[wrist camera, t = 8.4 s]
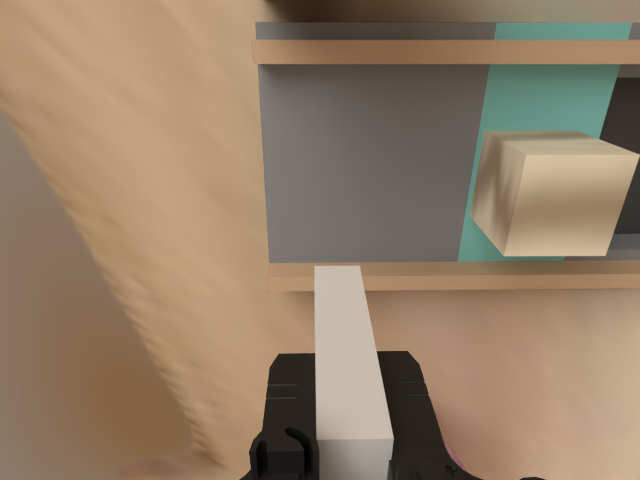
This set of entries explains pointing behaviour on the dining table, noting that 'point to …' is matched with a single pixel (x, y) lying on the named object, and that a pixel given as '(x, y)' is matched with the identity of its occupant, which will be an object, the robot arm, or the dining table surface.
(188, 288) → the dining table surface
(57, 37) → the dining table surface
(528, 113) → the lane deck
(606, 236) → the maple block
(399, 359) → the robot arm
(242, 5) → the dining table surface
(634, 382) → the dining table surface
